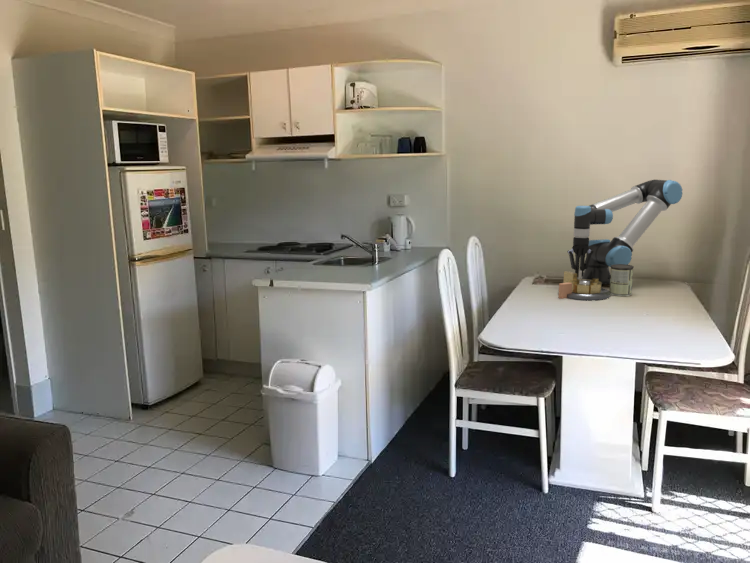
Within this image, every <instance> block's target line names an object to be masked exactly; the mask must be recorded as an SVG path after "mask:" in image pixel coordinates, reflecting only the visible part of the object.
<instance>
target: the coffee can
mask: <svg viewBox="0 0 750 563" xmlns="http://www.w3.org/2000/svg"><path fill="white" fill-rule="evenodd" d="M610 275H611V279H610V284H609V291H610V296H611V295H612V296H614V295H616V296H615V297H631V296H632V294H633V293H632V291H633V278H634V265H631V264H628V265H626V264H614V265H611V267H610ZM630 295H631V296H630Z"/></svg>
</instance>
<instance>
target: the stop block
mask: <svg viewBox="0 0 750 563" xmlns="http://www.w3.org/2000/svg"><path fill="white" fill-rule="evenodd" d="M571 293H572V283H569V282H568V283H563V282H562V283H558V298H557V299H562V300H563V299H568V298H567V294H571Z"/></svg>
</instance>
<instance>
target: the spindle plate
mask: <svg viewBox="0 0 750 563" xmlns="http://www.w3.org/2000/svg"><path fill="white" fill-rule="evenodd" d="M579 284H583V285H590V281H589V280H580V281H579ZM609 297H610V298H611V294H610V289H606V288H603V287H601V292H600V293H594V294H582V293H574V292H572V293H571V294H567V298H566V299H568V300H569V299H570V300H575V301H587V300H588V301H591V302H593V301H592V300H595V301H604V300H607V298H608V299H610V298H609ZM603 299H604V300H603Z"/></svg>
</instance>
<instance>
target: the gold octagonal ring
mask: <svg viewBox="0 0 750 563" xmlns="http://www.w3.org/2000/svg"><path fill="white" fill-rule="evenodd" d="M580 280H588V279H582V278H581V279H577V273H575V272H573V271H570V270H567V271H565V270H564V271H563V282H562V283H568V282H569V283H572V292H574V293H582V294H594V293H600V292H601V288H602V282H599V279H597V278H593V280H589V281H590V285H583V284H579V281H580Z"/></svg>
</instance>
